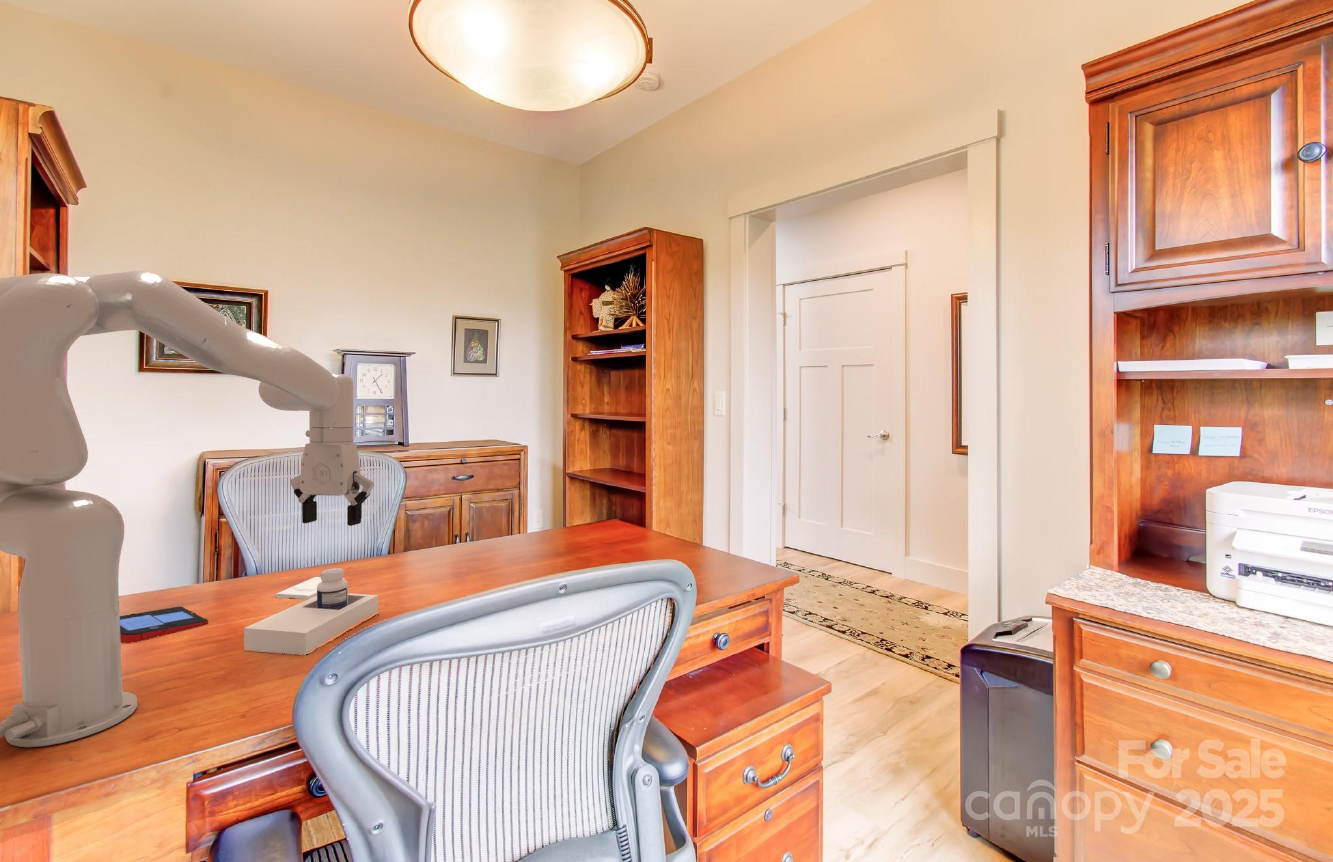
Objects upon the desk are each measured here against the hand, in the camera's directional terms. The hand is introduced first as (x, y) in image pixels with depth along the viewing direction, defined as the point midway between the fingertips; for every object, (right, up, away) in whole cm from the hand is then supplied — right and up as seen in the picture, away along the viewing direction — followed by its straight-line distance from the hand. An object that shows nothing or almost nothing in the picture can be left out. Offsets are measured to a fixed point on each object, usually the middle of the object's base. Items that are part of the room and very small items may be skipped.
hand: (331, 523), depth 117 cm
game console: (-33, -20, -2) cm, 39 cm away
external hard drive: (-16, -19, +20) cm, 32 cm away
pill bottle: (0, -20, +1) cm, 20 cm away
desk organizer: (-1, -20, -4) cm, 20 cm away
